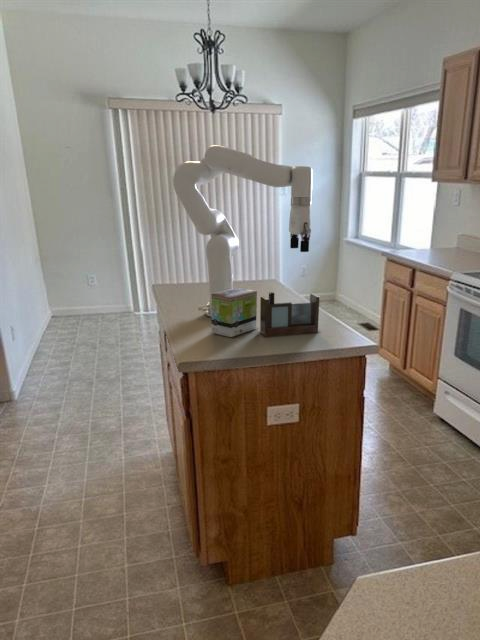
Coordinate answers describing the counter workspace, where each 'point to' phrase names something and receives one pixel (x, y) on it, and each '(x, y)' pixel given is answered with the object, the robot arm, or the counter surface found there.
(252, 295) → the tea box
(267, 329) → the window frame
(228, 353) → the counter surface
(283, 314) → the sliding pane
